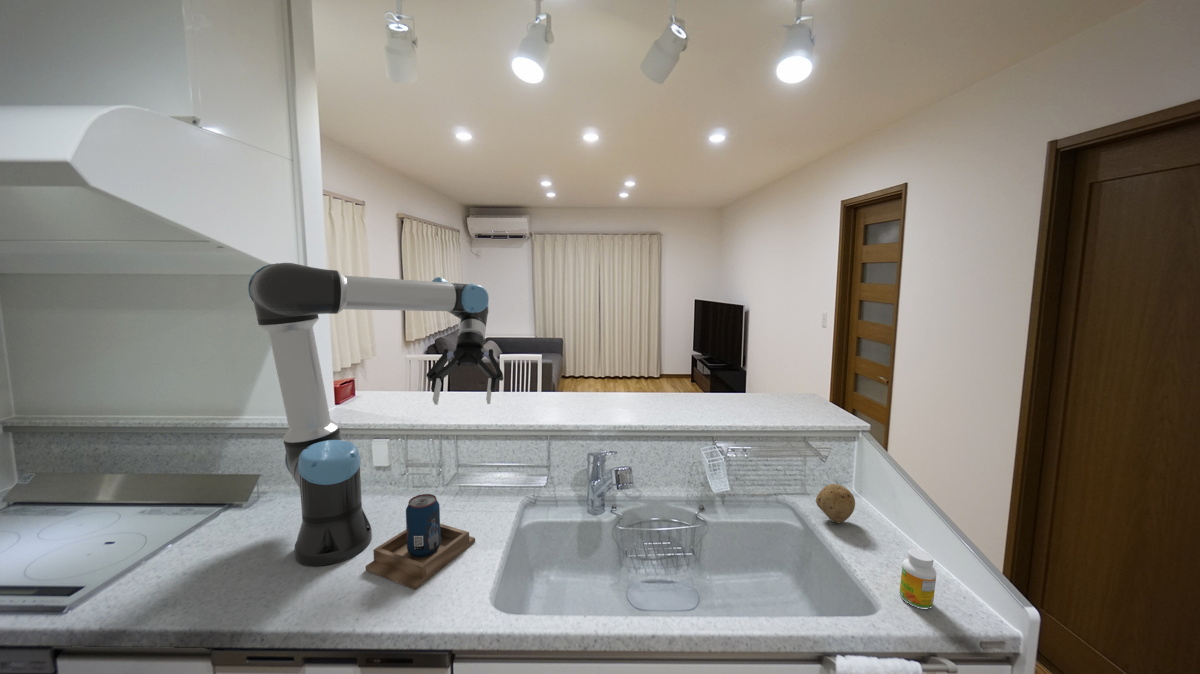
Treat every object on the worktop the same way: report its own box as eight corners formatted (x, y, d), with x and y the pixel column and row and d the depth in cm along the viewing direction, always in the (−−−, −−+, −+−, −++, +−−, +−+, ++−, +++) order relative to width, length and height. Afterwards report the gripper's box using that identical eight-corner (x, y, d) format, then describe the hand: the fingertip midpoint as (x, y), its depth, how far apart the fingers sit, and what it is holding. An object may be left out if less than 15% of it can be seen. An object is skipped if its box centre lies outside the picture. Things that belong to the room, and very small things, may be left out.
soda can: (414, 542, 101) (412, 492, 99) (444, 541, 101) (443, 492, 100) (402, 560, 94) (400, 508, 92) (435, 560, 94) (433, 507, 93)
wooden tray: (365, 570, 92) (365, 554, 92) (430, 527, 109) (429, 514, 108) (415, 589, 87) (414, 573, 86) (475, 541, 103) (474, 527, 103)
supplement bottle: (892, 591, 88) (897, 546, 87) (917, 590, 89) (922, 546, 87) (913, 611, 83) (918, 563, 82) (940, 610, 83) (945, 563, 82)
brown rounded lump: (809, 519, 115) (812, 483, 114) (822, 508, 121) (825, 474, 120) (846, 534, 108) (850, 496, 107) (858, 522, 114) (862, 485, 113)
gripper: (515, 346, 132) (511, 408, 119) (430, 346, 129) (416, 409, 116) (513, 330, 126) (508, 393, 113) (424, 330, 123) (408, 395, 110)
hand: (461, 401), depth 115 cm, fingers open, 13 cm apart
